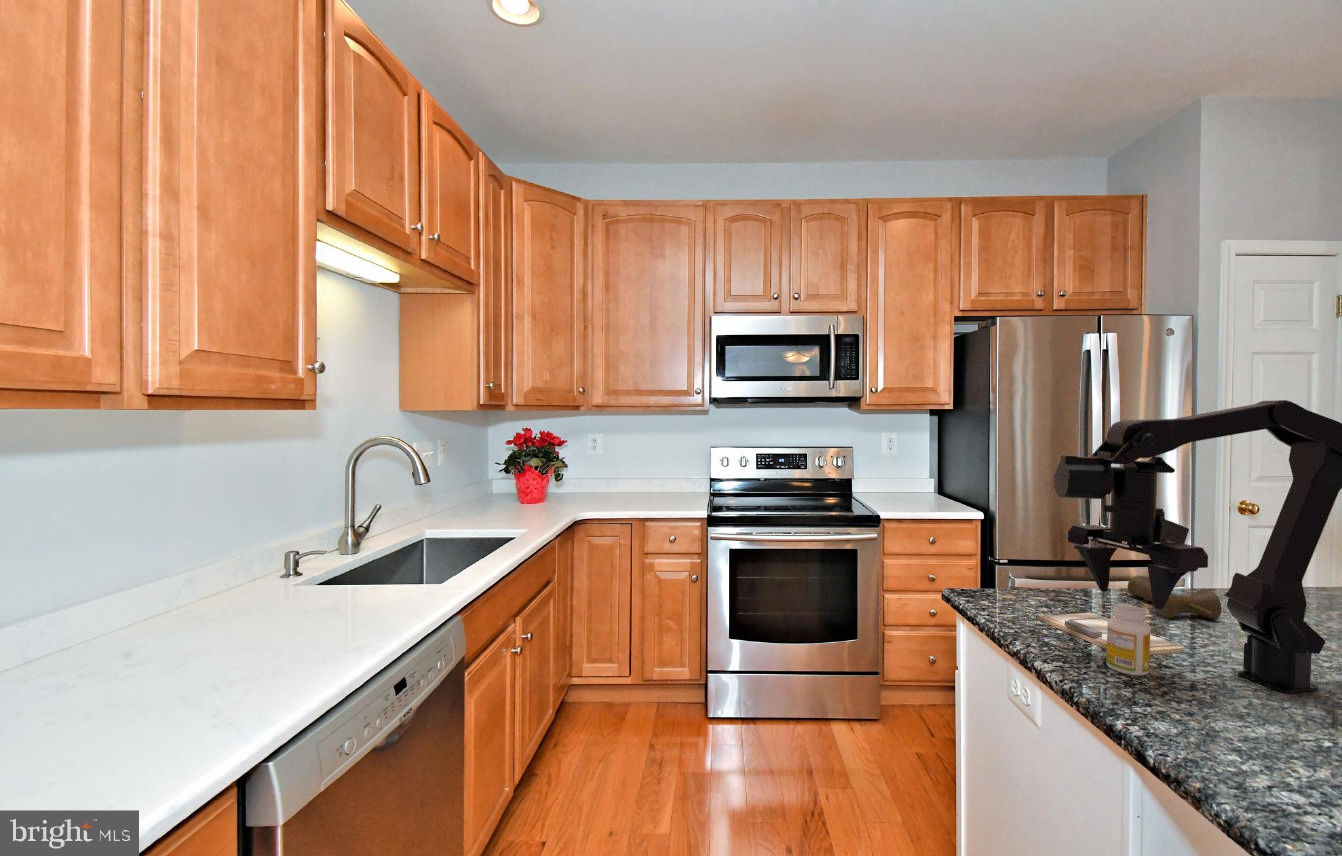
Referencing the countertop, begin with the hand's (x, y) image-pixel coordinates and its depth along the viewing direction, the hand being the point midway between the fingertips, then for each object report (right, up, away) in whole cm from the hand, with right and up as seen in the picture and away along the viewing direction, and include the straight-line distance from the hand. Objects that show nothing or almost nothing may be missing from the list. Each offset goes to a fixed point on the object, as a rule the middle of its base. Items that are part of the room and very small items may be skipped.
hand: (1130, 599), depth 95 cm
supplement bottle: (0, -11, 0) cm, 11 cm away
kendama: (+30, -11, +29) cm, 44 cm away
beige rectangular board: (+7, -11, +15) cm, 20 cm away
